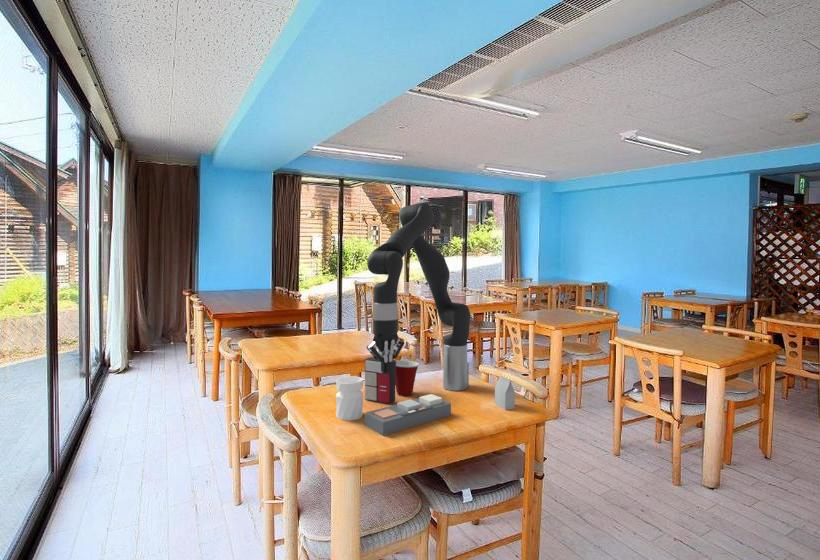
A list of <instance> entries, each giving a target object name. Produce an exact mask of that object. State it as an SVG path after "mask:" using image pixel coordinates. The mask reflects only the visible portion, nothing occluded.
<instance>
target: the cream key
mask: <svg viewBox="0 0 820 560" xmlns="http://www.w3.org/2000/svg"><path fill="white" fill-rule="evenodd" d="M418 399H419V402H420V403H423V404H425V405H427V406H433V405H437V404H440V403H442V400H443V397H441V396H438V395H437V394H436V395H435V394H434V393H430V394H425V395H422V396H419V398H418Z"/></svg>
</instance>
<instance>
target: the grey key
mask: <svg viewBox="0 0 820 560" xmlns="http://www.w3.org/2000/svg"><path fill="white" fill-rule="evenodd" d="M413 400H414V399H407V400H403V401H399V402H397V403H396V404H397V408H399V409H401V410H403V411H405V412H408V411H412V410H416V409H419V408H421V404H420V403H418V402H416V401H413Z"/></svg>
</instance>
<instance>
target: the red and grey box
mask: <svg viewBox="0 0 820 560" xmlns="http://www.w3.org/2000/svg"><path fill="white" fill-rule="evenodd" d="M396 361H397V360H396V359H393V360H392V361H391V372H390V374H383V373H382V372H381V362H380V361H378V360H375V358H374V357H373V356H370V357H369V356H368V357H367V358H365V359H364V397H365V400H367V401H371V402H372V401H373V402H378V403H383V404H388V405H391V404H393V403H395V402H396V386H395V372H396Z"/></svg>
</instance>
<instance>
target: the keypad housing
mask: <svg viewBox="0 0 820 560" xmlns="http://www.w3.org/2000/svg"><path fill="white" fill-rule="evenodd" d="M412 400H413V401H416V402H418V403H420V402H419V398H416V399H412ZM420 404H421V408H419V409H416V410H412V411H408V412H405V411H403V410H401V409H399V408H397V403H396V404H393V405H389V406H385V407H381V408H378V409H374V410H370V411H366V412H364V426H365V427H367V428H368V429H371V430H372V431H374V432H375V433H377V434H379V435H381V436H386V435H390V434H394V433H396V432H401V431H403V429H404V430H407V429H409V428H410V429H411V428H412V427H416V426H420V425H423V424H427V423H429V422H430V423H431V422H433V421H436V420H439V419H443V418H446V417H449V416H451V415H452V403H451V402H449V401H446V400H444V399H442V403H440V404H437V405H433V406H427V405H425V404H423V403H420ZM385 409H390V410H392V411H394V412H396V413H398V415H397V416H393V417H390V418H386V419H382V418H380V417H378V416H376V415H374V412H377V411H381V410H385Z"/></svg>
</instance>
